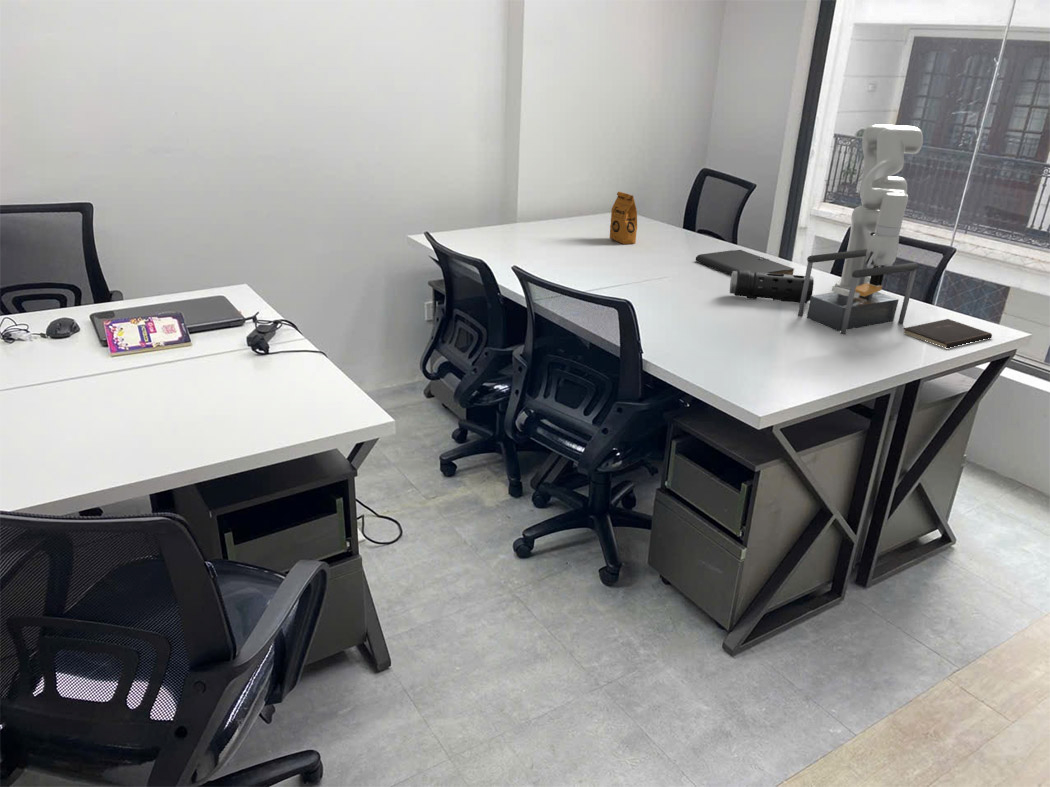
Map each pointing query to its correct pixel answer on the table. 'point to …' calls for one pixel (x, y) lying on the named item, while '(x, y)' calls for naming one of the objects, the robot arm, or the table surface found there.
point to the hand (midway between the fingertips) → (875, 284)
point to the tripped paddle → (867, 289)
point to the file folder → (742, 262)
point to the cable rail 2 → (880, 271)
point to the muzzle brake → (769, 286)
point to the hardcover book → (947, 333)
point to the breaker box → (852, 310)
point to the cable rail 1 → (827, 257)
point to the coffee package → (624, 219)
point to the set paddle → (844, 291)
